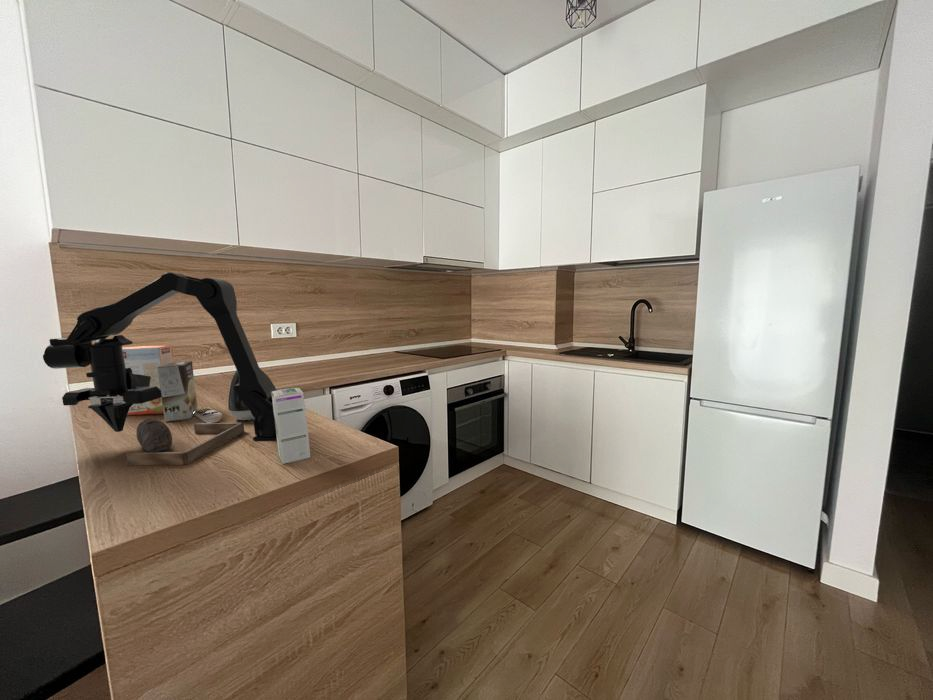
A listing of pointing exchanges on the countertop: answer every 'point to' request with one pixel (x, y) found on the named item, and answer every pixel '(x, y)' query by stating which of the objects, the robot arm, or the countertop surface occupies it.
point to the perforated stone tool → (154, 435)
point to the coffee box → (177, 390)
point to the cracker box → (147, 372)
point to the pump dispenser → (237, 402)
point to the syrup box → (290, 425)
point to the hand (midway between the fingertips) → (119, 431)
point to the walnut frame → (188, 456)
